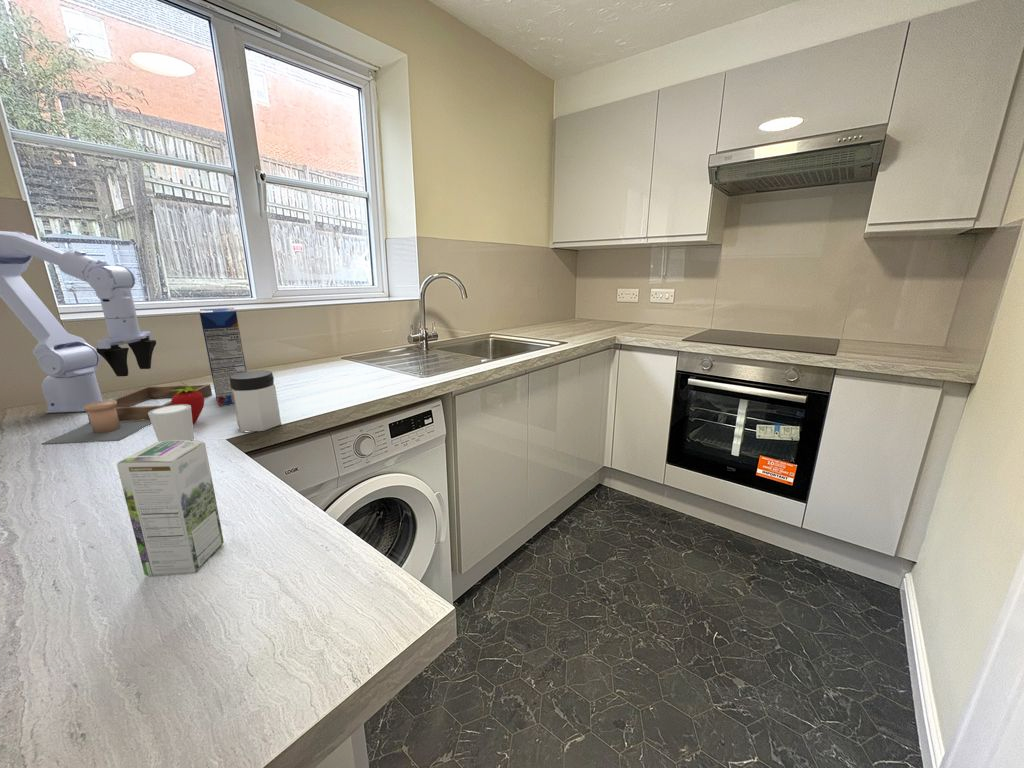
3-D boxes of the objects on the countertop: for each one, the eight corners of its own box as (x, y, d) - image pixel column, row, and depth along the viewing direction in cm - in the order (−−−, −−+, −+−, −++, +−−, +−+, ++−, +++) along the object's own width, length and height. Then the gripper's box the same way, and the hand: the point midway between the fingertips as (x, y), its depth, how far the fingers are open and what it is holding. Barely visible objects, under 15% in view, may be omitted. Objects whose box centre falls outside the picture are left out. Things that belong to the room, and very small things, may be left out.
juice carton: (217, 395, 116) (200, 309, 110) (248, 391, 120) (233, 307, 114) (218, 406, 107) (199, 312, 100) (251, 401, 111) (236, 311, 105)
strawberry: (173, 430, 91) (163, 386, 88) (180, 420, 97) (170, 378, 95) (206, 426, 94) (197, 383, 91) (210, 416, 100) (202, 375, 97)
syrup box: (178, 545, 53) (152, 440, 49) (227, 543, 53) (205, 438, 50) (144, 577, 48) (111, 461, 44) (198, 574, 48) (171, 459, 44)
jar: (284, 427, 93) (276, 375, 90) (241, 436, 88) (231, 381, 85) (276, 416, 100) (268, 368, 97) (236, 424, 95) (226, 373, 92)
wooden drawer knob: (83, 434, 88) (76, 407, 87) (103, 425, 93) (96, 400, 91) (111, 433, 89) (103, 406, 87) (129, 424, 94) (122, 399, 92)
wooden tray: (89, 422, 96) (86, 409, 95) (149, 396, 115) (146, 386, 114) (165, 418, 98) (163, 406, 97) (212, 394, 117) (210, 384, 116)
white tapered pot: (205, 437, 87) (199, 405, 86) (170, 450, 81) (162, 416, 79) (183, 433, 90) (176, 402, 88) (147, 445, 83) (139, 412, 81)
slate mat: (41, 444, 84) (41, 443, 84) (90, 423, 95) (90, 422, 95) (119, 440, 86) (119, 439, 86) (158, 420, 97) (158, 419, 97)
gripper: (115, 320, 93) (129, 379, 97) (160, 314, 107) (171, 365, 111) (80, 321, 93) (96, 379, 96) (130, 314, 106) (142, 366, 110)
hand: (134, 372), depth 103 cm, fingers open, 7 cm apart
